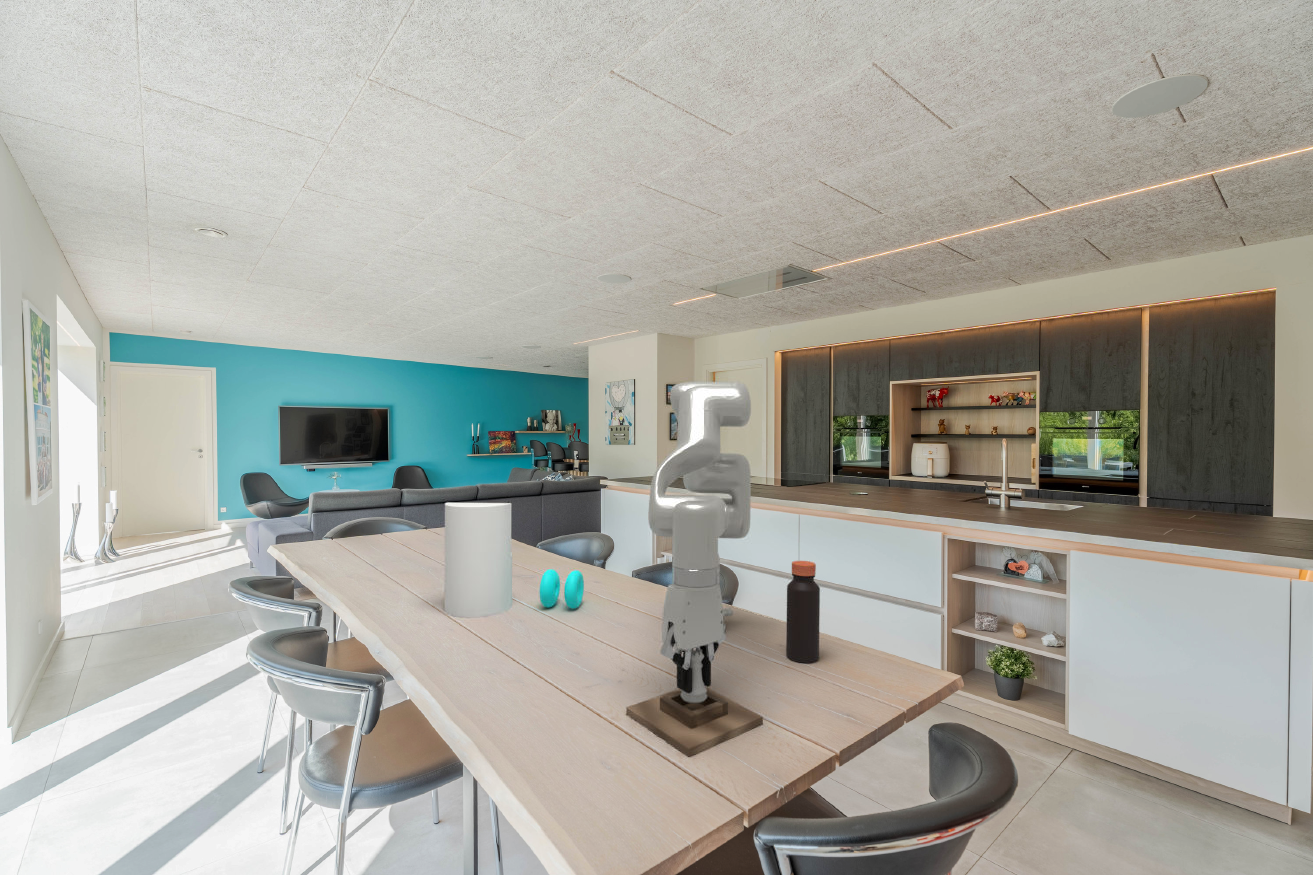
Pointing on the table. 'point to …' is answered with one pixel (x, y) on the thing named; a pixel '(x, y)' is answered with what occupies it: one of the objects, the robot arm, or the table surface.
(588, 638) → the table surface
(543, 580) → the donuts
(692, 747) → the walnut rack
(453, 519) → the cylinder
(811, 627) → the bottle
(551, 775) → the table surface
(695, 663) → the rook chess piece
